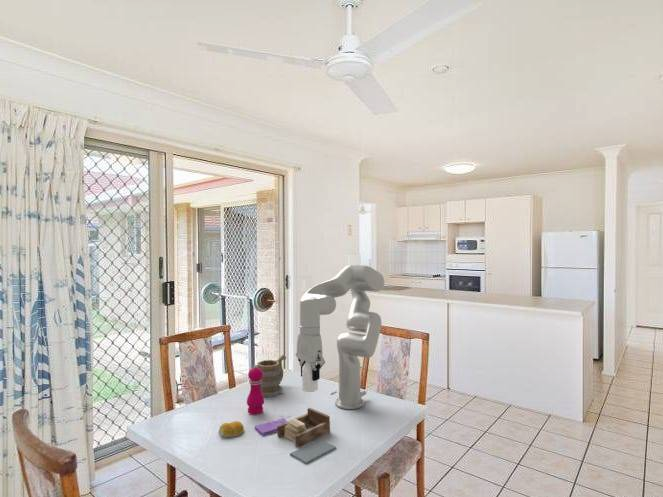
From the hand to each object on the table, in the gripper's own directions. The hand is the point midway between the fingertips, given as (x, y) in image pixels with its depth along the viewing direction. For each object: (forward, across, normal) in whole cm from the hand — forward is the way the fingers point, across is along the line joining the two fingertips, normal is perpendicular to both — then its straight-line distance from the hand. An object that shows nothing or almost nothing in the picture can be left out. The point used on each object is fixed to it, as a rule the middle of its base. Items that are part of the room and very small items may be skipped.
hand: (310, 377), depth 150 cm
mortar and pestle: (+21, -44, +17) cm, 52 cm away
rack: (+21, 0, -3) cm, 21 cm away
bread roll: (+21, -20, -22) cm, 36 cm away
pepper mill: (+21, -29, -4) cm, 36 cm away
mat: (+20, +12, -9) cm, 25 cm away
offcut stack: (+20, 0, -7) cm, 22 cm away
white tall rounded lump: (+5, 0, 0) cm, 5 cm away
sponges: (+21, -12, -8) cm, 26 cm away
